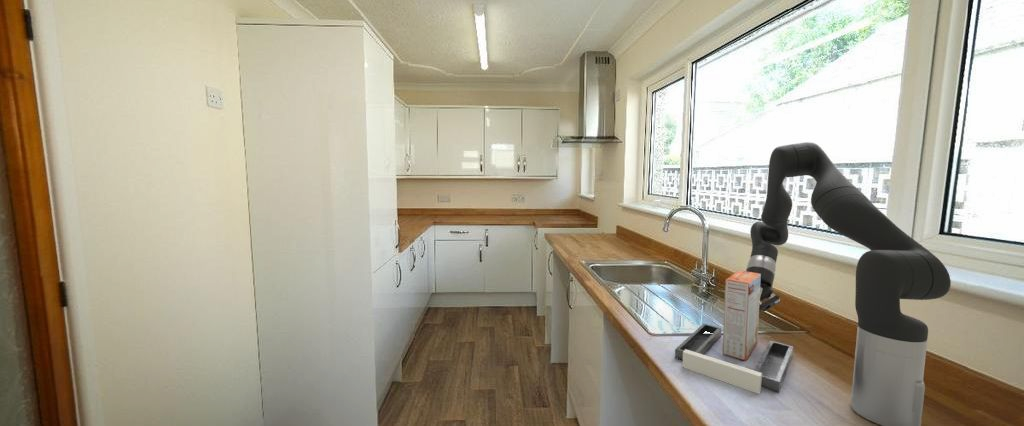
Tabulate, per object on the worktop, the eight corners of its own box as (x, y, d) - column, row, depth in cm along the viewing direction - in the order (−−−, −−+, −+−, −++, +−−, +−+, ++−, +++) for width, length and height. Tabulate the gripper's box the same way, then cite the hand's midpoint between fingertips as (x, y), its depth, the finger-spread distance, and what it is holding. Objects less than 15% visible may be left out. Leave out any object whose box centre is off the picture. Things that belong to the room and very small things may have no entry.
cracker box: (733, 338, 105) (737, 269, 103) (758, 344, 101) (762, 273, 99) (720, 354, 95) (724, 278, 93) (746, 362, 91) (751, 282, 89)
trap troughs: (792, 355, 95) (793, 346, 94) (778, 393, 77) (779, 382, 77) (703, 331, 110) (703, 323, 110) (674, 358, 93) (675, 349, 92)
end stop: (760, 390, 78) (762, 373, 78) (759, 394, 77) (760, 376, 77) (685, 364, 90) (685, 349, 89) (682, 367, 88) (682, 351, 88)
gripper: (734, 262, 116) (722, 307, 108) (785, 269, 106) (776, 319, 99) (737, 275, 120) (726, 320, 112) (786, 283, 111) (777, 332, 103)
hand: (749, 319), depth 105 cm, fingers closed
